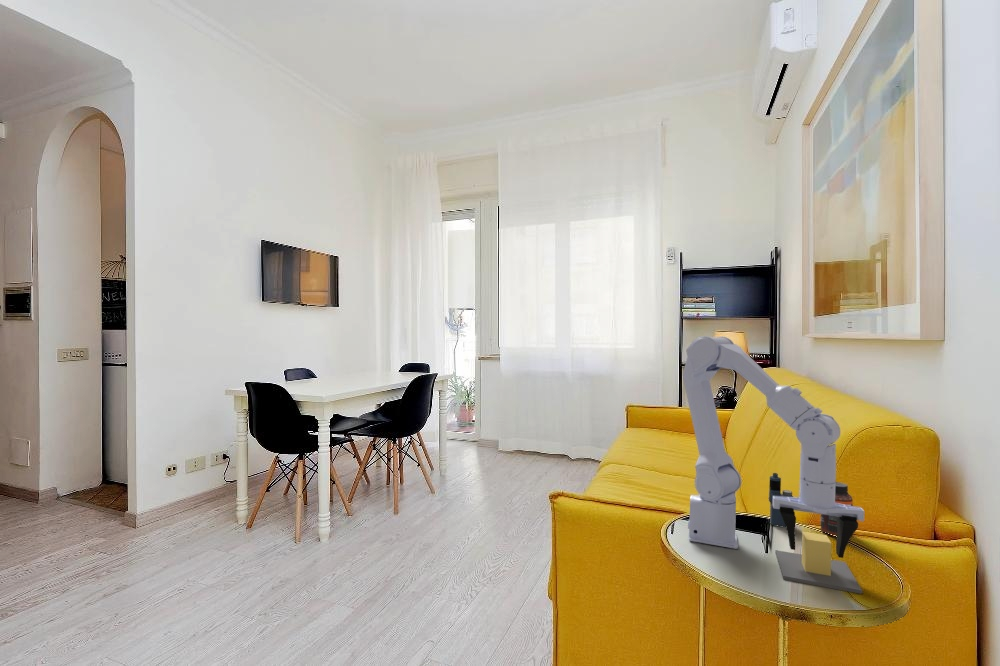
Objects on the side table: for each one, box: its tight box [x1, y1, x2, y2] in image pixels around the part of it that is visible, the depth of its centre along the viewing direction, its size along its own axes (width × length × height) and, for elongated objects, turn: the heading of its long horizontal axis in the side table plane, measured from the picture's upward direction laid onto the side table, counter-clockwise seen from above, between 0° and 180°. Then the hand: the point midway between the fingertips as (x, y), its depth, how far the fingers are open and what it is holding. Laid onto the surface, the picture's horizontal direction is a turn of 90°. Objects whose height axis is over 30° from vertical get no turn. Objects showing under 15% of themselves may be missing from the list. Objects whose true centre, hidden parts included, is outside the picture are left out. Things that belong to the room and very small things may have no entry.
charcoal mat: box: [774, 549, 863, 595], centre depth 94 cm, size 12×12×1 cm
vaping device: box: [768, 472, 794, 528], centre depth 117 cm, size 3×5×12 cm, turn 67°
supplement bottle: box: [820, 481, 854, 536], centre depth 113 cm, size 6×6×11 cm
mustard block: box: [801, 531, 832, 576], centre depth 94 cm, size 4×4×6 cm
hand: (815, 551), depth 94 cm, fingers open, 7 cm apart
